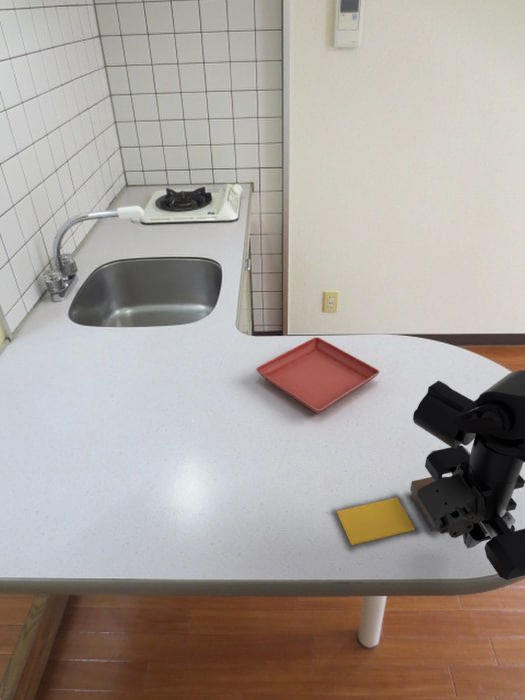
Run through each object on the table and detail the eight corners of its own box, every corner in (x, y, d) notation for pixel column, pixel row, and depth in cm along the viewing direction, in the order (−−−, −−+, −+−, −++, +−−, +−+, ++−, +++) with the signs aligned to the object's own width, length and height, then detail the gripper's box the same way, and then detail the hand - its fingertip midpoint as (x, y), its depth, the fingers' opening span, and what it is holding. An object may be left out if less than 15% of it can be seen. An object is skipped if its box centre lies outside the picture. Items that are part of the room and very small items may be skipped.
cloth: (396, 498, 82) (397, 497, 82) (415, 530, 77) (415, 528, 77) (336, 512, 80) (336, 511, 80) (351, 545, 76) (351, 544, 75)
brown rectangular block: (461, 525, 78) (465, 509, 76) (430, 532, 77) (434, 517, 75) (437, 489, 84) (441, 474, 82) (408, 496, 83) (411, 481, 81)
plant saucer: (316, 347, 118) (316, 335, 116) (380, 383, 106) (381, 370, 104) (254, 381, 108) (254, 368, 106) (318, 425, 97) (318, 411, 95)
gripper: (397, 427, 69) (385, 505, 78) (478, 547, 54) (452, 626, 63) (473, 411, 71) (452, 489, 80) (571, 522, 56) (533, 603, 65)
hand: (468, 545), depth 72 cm, fingers closed
